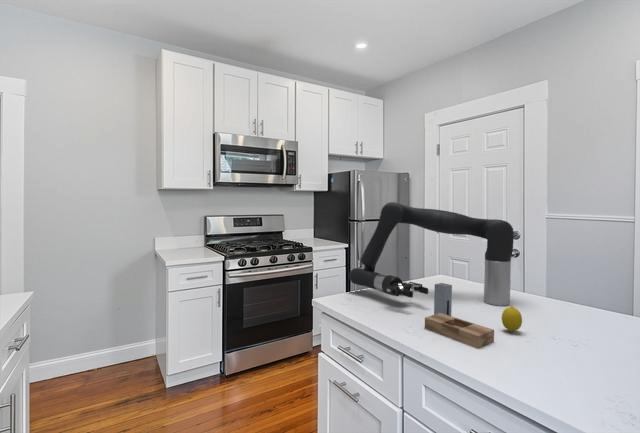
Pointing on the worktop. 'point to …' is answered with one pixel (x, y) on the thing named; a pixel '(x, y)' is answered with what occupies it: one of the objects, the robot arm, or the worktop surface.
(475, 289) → the worktop surface
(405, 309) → the worktop surface
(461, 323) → the wooden slotted base
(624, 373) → the worktop surface
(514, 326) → the lemon
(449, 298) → the block
